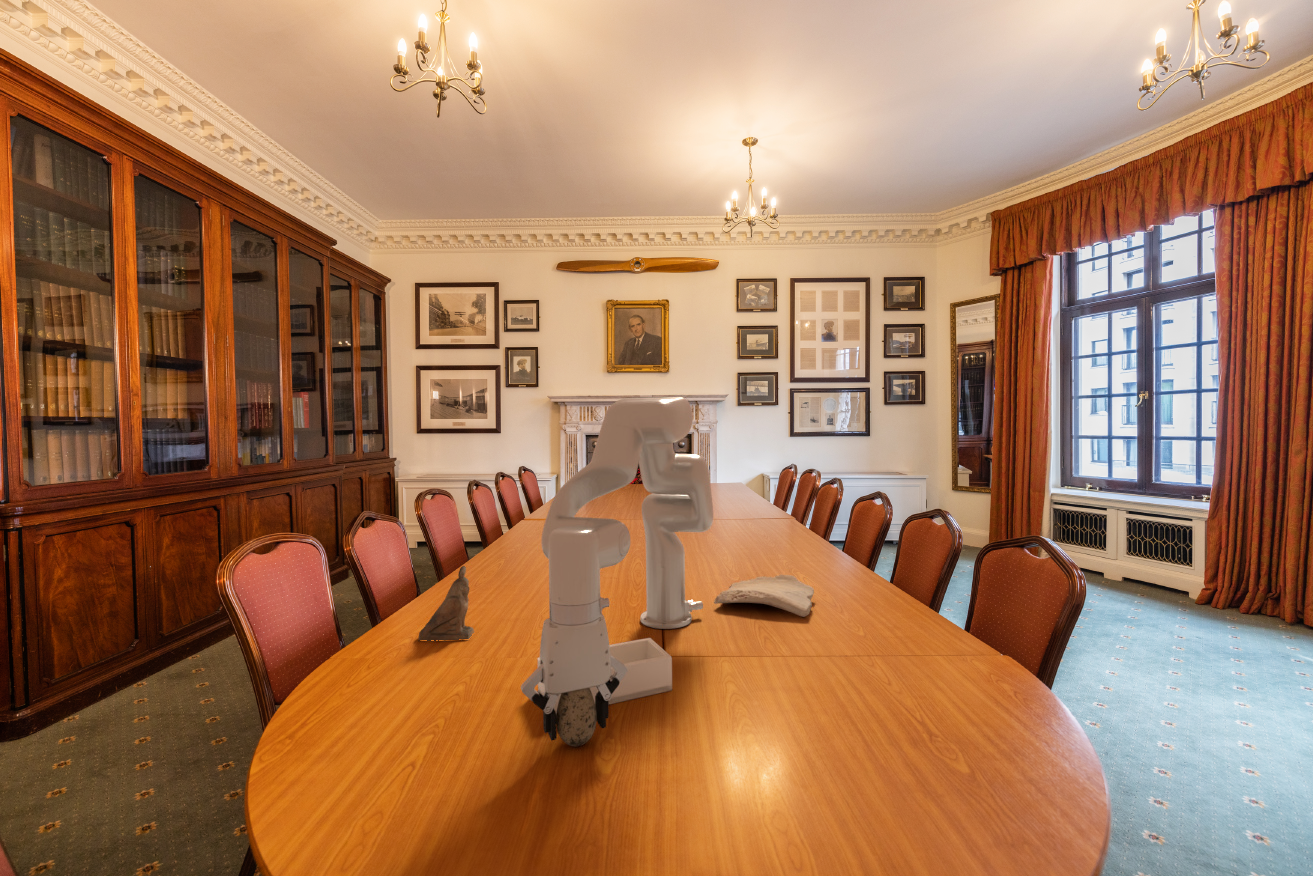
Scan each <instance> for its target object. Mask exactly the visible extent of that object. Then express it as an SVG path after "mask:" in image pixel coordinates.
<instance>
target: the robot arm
mask: <svg viewBox="0 0 1313 876" xmlns="http://www.w3.org/2000/svg"><path fill="white" fill-rule="evenodd" d="M693 418H694V417H693V408H692V406H691V404H690V402H689V400H687V399H686V398H685V397H682V396H674V397H673V396H670V397H669V396H668V397H631V398H630V397H629V398H627V397H626V398H621V399H618V400H616V401H615V402H614V403H613V404H611V405H610V406H609V407H608V408H607V410H606V411H605V414H604V417H603V420H602V422H601V423H602V424H601V426H600V430H599V434H598V437H597V438H596V439H597V440H596V444H595V447H594V450H593V452H592V453H593V454H592V456H591V457H592V458H591V460H590V462H589V463H588V464H586V465H585V466H584V467H582V468H581V469H580V470H578V471H577V472H576V473H575V474H574V475H572V476H571V477H570V478H569V479H568V480H567V481H566V482H565V483H564V484H563V485H562V486H561V487H560V489H559V490H557V492H556V494H555V495H554V496H553V498H552V499H553V500H552V502H551V503H550V506H549V508H548V512H547V515H546V518H545V521H544V525H543V528H542V534H541V549H542V553H543V555H544V557H546V558H547V559H548V583H549V585H548V589H549V590H548V591H549V592H548V593H549V597H548V599H549V600H548V602H549V604H548V605H549V607H548V608H549V610H548V611H549V612H548V614H549V618H546V619H545V620H544V621H543V624H542V631H541V636H540V637H541V638H540V645H539V646H540V647H539V657H540V662H539V667H538V666H537V668H536V669H535V670H534V671H533V672H532V673H531V674H530V675H529V676H528V677H527V678H526V680H525V681H523V683H521V685H520V690H521V691H522V694H523V695H525V697H527V698H528V699H529V700H530V701H531V702H532V703H533V704H534V705H535V706H537V708H539V709H541V710H542V712H543V713H542V717H543V718H542V719H543V721H542V722H543V723H542V724H543V731H544V733H545V734H548V736H549V738H550V740H551V742H552V741H556V740H557V725H556V712H555V710H554V705H555V703H556V701H557V699H558V696H559V694H562V693H567V692H572V691H576V690H581V689H586V688H591V687H595V686H596V687H597V689H598V693H596V696H595V707H596V715H597V721H596V723H597V724H598V725H599V727H600V728H601V729H606V728H607V719H609V716H610V715H609V713H610V712H609V709H610V708H609V705H610V704H609V700H610V699H611V695H612V693H613V692H614V691H615V689H616V688H617V687H618V686H619V683H620V681H621V680H622V678H623V677H624V676H625V674H626V673H627V671H628V669H627V667H626V666H625V665H624V664H622V663H621V662H620V661H618V660H617V659H615V658H614V657H613V656H611V655H610V646H609V645H610V640H609V632H608V628H607V623H606V619H605V616H604V614H603V609H605V608H609V607H610V599H609V598H608V597H606V598H604V597H602V596H601V569H605V568H610V567H613V566H616V565H618V564H619V563H620V562H621V563H622V561H623V560H624V559H625V558H626V556H627V554H628V553H629V551H630V548H631V534H630V531H629V528H628V527H627V526H626V524H625V523H624V522H622V521H621V520H617V519H614V518H606V517H605V518H602V517H600V518H599V517H585V516H584V517H580V516H576V515H577V513H578V512H579V511H580V510H581V509H582V508H583V507H584V506H585V505H587V504H588V503H589V502H592V501H593V500H595V499H598V498H599V497H602V496H605V495H607V494H610V493H612V492H615V491H618V490H619V489H621V488H624V487H626V486H628V485H629V484H631V483H632V482H633V481H634V480H635V479H636V475H637V472H638V468H639V471H640V477H641V482H642V484H643V485H642V486H643V488H644V489H645V490H646V491H647V492H648V493H650V494H648V495H647V496H646V497H644V499H643V501H642V503H641V518H642V522H643V528H644V536H645V537H644V539H645V565H646V566H645V569H646V570H645V572H646V573H645V579H646V580H645V581H646V591H645V592H646V611H643V612H642V613H641V615H640V619H639V620H640V622H641V624H642V625H644V626H646V627H650V628H653V629H657V630H658V629H660V630H661V629H662V630H670V629H672V630H673V629H678V628H682V627H686V626H688V625H690V624H691V622H692V620H693V619H692V614H691V612H693V611H698V610H703V608H704V603H703V601H700V600H699V601H694V600H693V599H691V600H686V574H685V573H686V571H685V569H686V566H685V565H686V562H685V558H686V557H685V547H684V545H683V543H682V541H681V540H680V538H679V536H678V535H677V534H676V533H678V532H680V533H681V532H682V533H704V532H707V531H708V530H710V529H711V527H712V525H713V522H714V505H713V497H712V496H713V495H712V487H711V479H710V471H709V467H708V464H707V461H706V459H705V458H704V457H703V456H701V455H698V454H694V453H692V454H691V453H676V452H675V450H674V444H675V443H677V442H679V441H681V440H683V439H684V438H685V437H686V436H687V435H688V434H689V433H690V431H691V428H692V425H693V421H694V420H693ZM611 667H612V668H613V669H615V671H614V673H613V675H611ZM539 682H541V683H544V685H545V692H544V694H543V695H542V694H540V693H539V692H538V690H537V689H535V688H536V686H538V683H539Z"/></svg>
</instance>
